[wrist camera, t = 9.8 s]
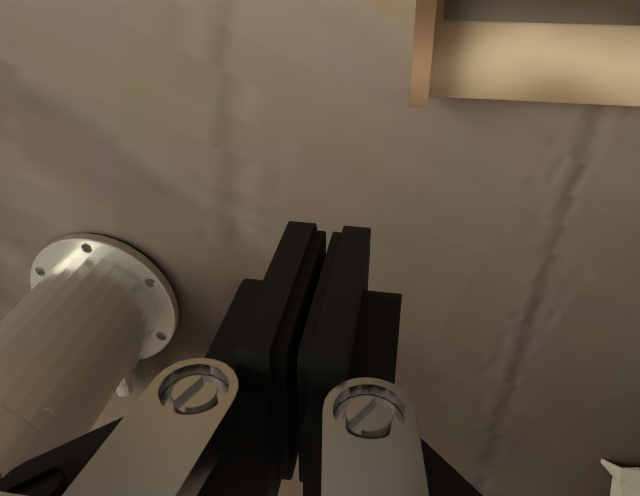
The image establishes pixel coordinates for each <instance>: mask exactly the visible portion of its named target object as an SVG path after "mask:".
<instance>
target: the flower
mask: <svg viewBox="0 0 640 496" xmlns="http://www.w3.org/2000/svg"><path fill="white" fill-rule="evenodd" d="M601 464H602V465H603V466H604V467H605V468H606V469H607V470H608V472H609V473H610V474H611V475H612V476H613V478H612V485H611V492H610V496H640V468H639V467H630V468H621V467H619V466H616V465H614V464H612V463H610V462H608V461H606V460H603V459H601Z"/></svg>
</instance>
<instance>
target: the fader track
mask: <svg viewBox="0 0 640 496" xmlns="http://www.w3.org/2000/svg"><path fill="white" fill-rule="evenodd" d="M429 96H432V97H453V98H474V99H495V100H516V101H537V102H558V103H579V104H600V105H621V106H640V0H416V14H415V28H414V42H413V57H412V71H411V85H410V99H409V107H414V108H428V98H429Z"/></svg>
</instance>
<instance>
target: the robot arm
mask: <svg viewBox="0 0 640 496" xmlns="http://www.w3.org/2000/svg"><path fill="white" fill-rule="evenodd" d="M370 238H371V228H365V227H353V226H344V227H343V230H342V233H341V232H333V233H332V236H331V240H330V243H329V246H328V250H327V253H326V232H325V231H318V230H317V226H316V223H305V222H293V221H289V222H288V224H287V226H286V229H285V231H284V233H283V236H282V238H281V240H280V243H279V245H278V247H277V250H276V252H275V254H274V256H273V259H272V261H271V263H270V266H269V268H268V270H267V273H266V275H265V277H264V280H255V279H244V280H243V281H242V283H241V284H240V286H239V288H238V291H237V293H236V295H235V297H234V299H233V301H232V303H231V305H230V307H229V309H228V311H227V313H226V315H225V317H224V319H223V321H222V323H221V326H220V328H219V330H218V332H217V334H216V336H215V338H214V340H213V342H212V344H211V346H210V348H209V350H208V352H207V354H206V356H205V358H193V359H187V360H183V361H180V362H177V363H174V364H173V365H171V366H169V367H167V368H166V369H164V370H163V371H162V372H161V373H160V374H158V375H157V376H156V377H155V378H154V380H153V381H152V382H151V383H150V385H149V386H148V387H147V388H146V390H145V391H144V392H143V394H142V395H141V396H140V397H139V399H138V400H137V401H136V402H135V404H134V405H133V406H132V407H131V409H130V410H129V411H128V413H127V414H126V415H125V416H124V417H122V418H120V419H118V420H116V421H113V422H111V423H109V424H107V425H105V426H102V427H100V428H98V429H96V430H94V431H91V432H89V431H90V430H91V428H92V427H93V425H94V423H95V422H96V420H97V419H98V417H99V416H100V414H101V413H102V411H103V409H104V408H105V406H106V405H107V403H108V402H109V400H110V399H111V398H112V395H113V394H114V392H115V391H116V392H117V394H118V396H121V397H126V396H128V395H130V394H131V393H132V391H133V387H132V383H131V379H130V377H129V375H130V373H131V372H132V370H133V368H134V367H135V365H136V364H137V362H138V361H139V360H140V359H145V358H148V357H151V356H153V355H155V354H157V353H158V352H160V351H161V350H163V348H164V347H165V346H166V345H167V344H168V343H169V341H170V340H171V338H172V336H173V335H174V333H175V331H176V328H177V324H178V317H179V310H178V304H177V299H176V297H175V294H174V292H173V289H172V287H171V286H170V284H169V282H168V281H167V279H166V278H165V276H164V275H163V274H162V273H161V271H160V270H159V269H158V268H157V267H156V266H155V265H154V264H153V263H152V262H151V261H150V260H149V259H147V258H146V257H145V256H144V255H143V254H141V253H140V252H138V251H137V250H135V249H133V248H132V247H130V246H128V245H126V244H124V243H122V242H120V241H118V240H116V239H112V238H109V237H106V236H102V235H96V234H89V233H80V234H70V235H66V236H62V237H60V238H58V239H56V240H54V241H52V242H51V243H50V244H49V245H48V246H46V247H45V248H44V249H43V250H42V251H41V252H40V253H39V255H38V256H37V257H36V258H35V260H34V263H33V265H32V268H31V276H30V282H31V291H30V292H29V293H28V294H27V295H26V296H25V297H24V298H23V299H22V300H21V301H20V302H19V303H18V304H17V305H16V306H15V307H14V308H13V309H12V310H11V311H10V312H9V313H8V314H7V315H6V316H5V317H4V318H3V319H2V320H1V321H0V496H277V495H278V491H279V487H280V483H281V479H285V480H291V479H292V477H293V473H294V469H295V465H296V461H297V456H298V452H299V480H300V482H303V496H483V495H482V494H480V493H479V492H478V491H477V490H476V489H475V488H474V487H473V486H472V485H471V484H470V483H469V482H468V481H466V480H465V479H464V478H463V477H462V476H461V475H460V474H459V473H458V472H457V471H456V470H455V469H454V468H452V467H451V466H450V465H449V464H448V463H447V462H446V461H445V460H444V459H443V458H442V457H441V456H440V455H438V454H437V453H436V452H435V451H434V450H433V449H432V448H431V447H430V446H429V445H428V444H427V443H426V442H424V441H423V440H422V439H421V438H420V435H419V429H418V423H417V416H416V411H415V408H414V405H413V402H412V400H411V399H410V398H409V396H408V395H407V394H406V393H405V392H404V391H403V390H402V389H400V388H399V387H397V386H396V385H394V383H395V371H396V359H397V347H398V334H399V322H400V310H401V298H402V294H397V293H387V292H376V291H368V274H369V256H370Z"/></svg>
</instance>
